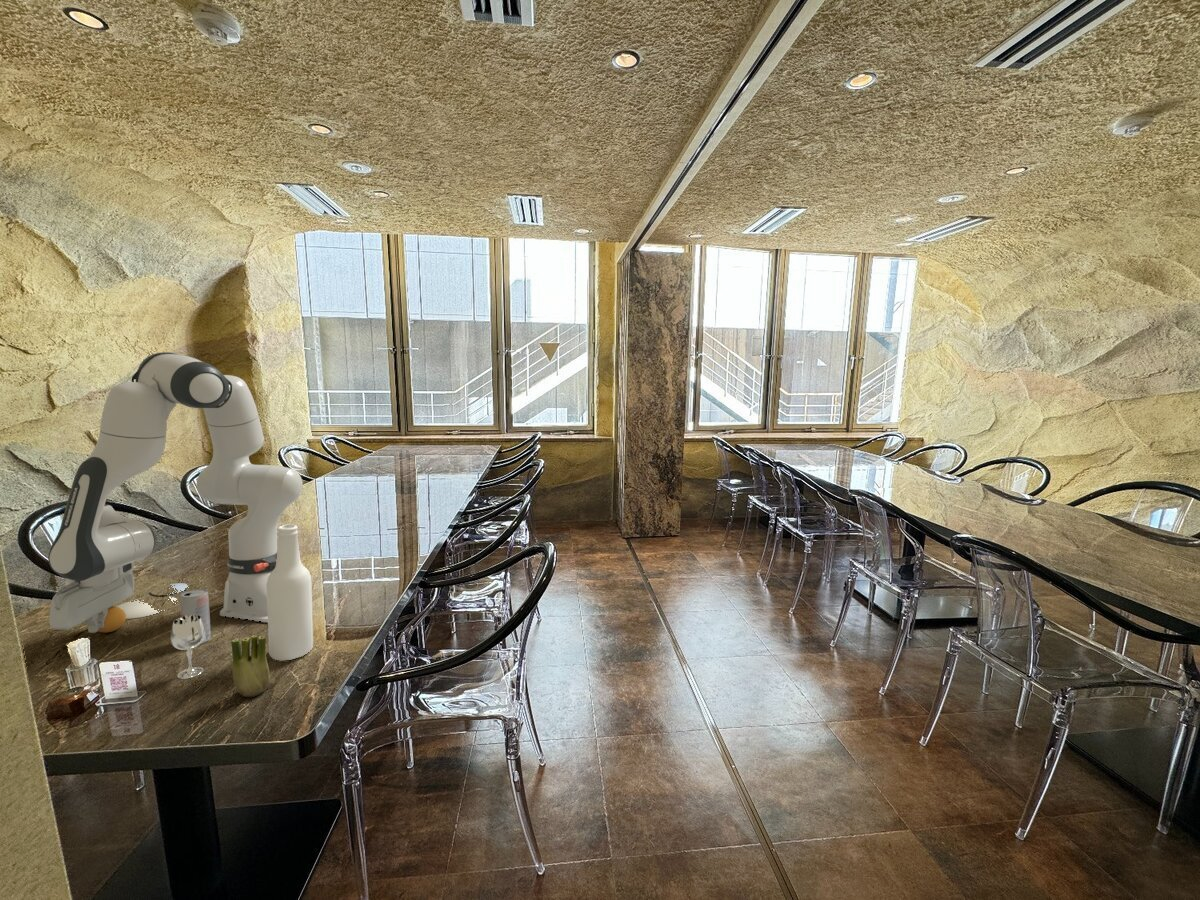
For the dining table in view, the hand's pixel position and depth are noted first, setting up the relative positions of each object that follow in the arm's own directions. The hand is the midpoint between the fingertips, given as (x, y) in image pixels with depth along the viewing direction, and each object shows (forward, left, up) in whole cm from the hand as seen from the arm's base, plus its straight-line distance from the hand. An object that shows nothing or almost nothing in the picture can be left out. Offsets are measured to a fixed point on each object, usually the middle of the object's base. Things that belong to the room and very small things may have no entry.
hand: (96, 630), depth 124 cm
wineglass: (-34, -1, -2) cm, 34 cm away
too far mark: (+17, -25, -2) cm, 30 cm away
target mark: (+10, -15, -2) cm, 18 cm away
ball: (+2, -4, +1) cm, 4 cm away
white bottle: (-45, -16, -2) cm, 47 cm away
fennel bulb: (-52, -2, -2) cm, 52 cm away
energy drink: (-21, -10, -2) cm, 23 cm away
